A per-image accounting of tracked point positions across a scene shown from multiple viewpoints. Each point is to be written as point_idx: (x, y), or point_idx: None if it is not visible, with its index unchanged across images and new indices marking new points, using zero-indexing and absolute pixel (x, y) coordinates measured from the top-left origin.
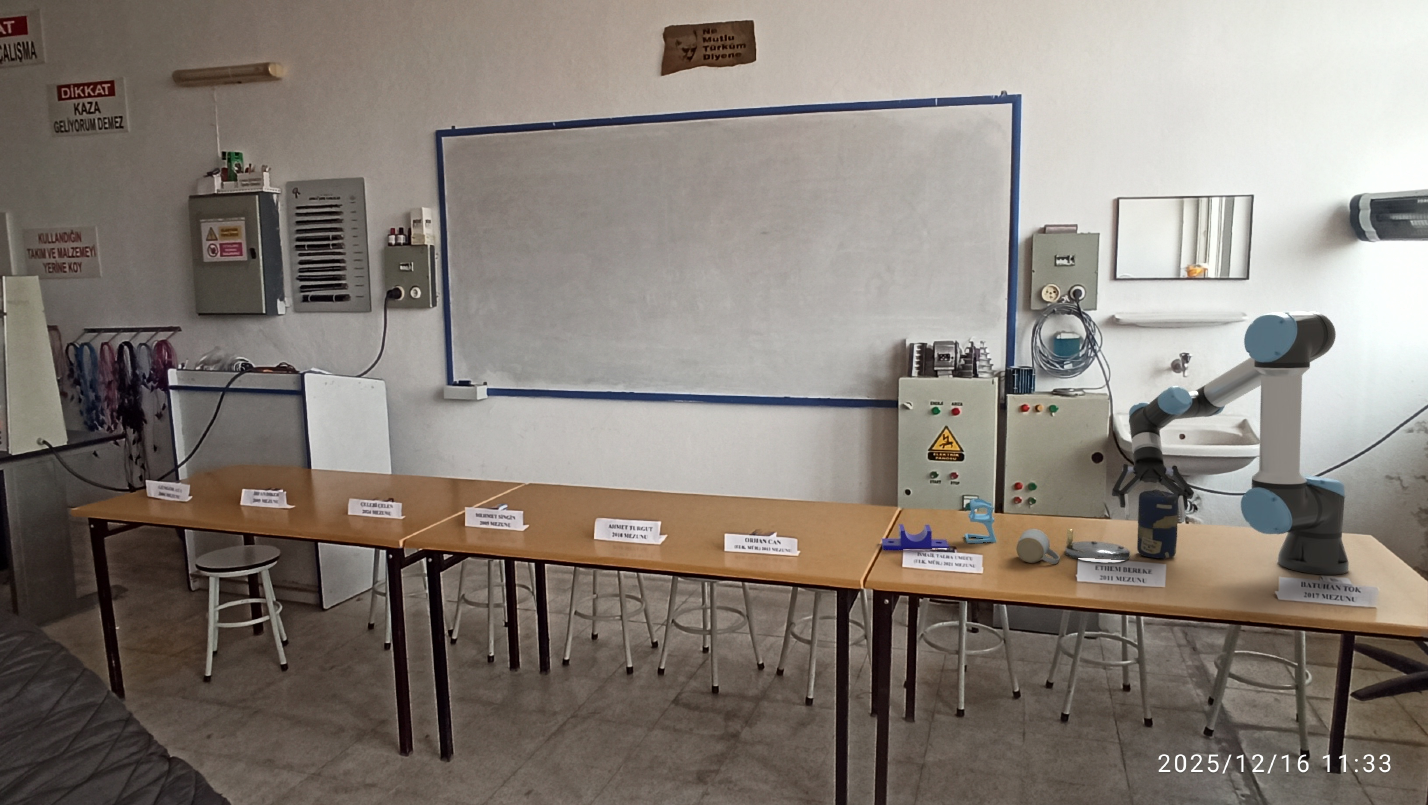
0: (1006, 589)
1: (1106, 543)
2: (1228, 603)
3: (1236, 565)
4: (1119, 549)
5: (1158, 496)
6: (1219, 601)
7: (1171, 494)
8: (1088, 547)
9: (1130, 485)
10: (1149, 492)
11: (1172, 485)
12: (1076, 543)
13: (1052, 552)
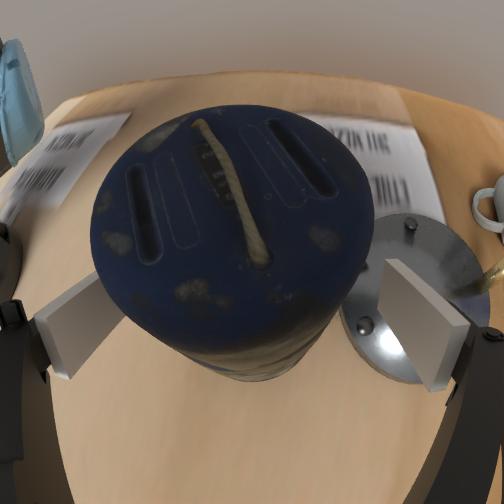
0: (467, 110)
1: (404, 368)
2: (205, 86)
3: (83, 262)
4: (369, 303)
5: (246, 111)
6: (214, 88)
7: (128, 178)
8: None
9: (474, 399)
10: (294, 204)
11: (14, 390)
12: None
13: (493, 223)
